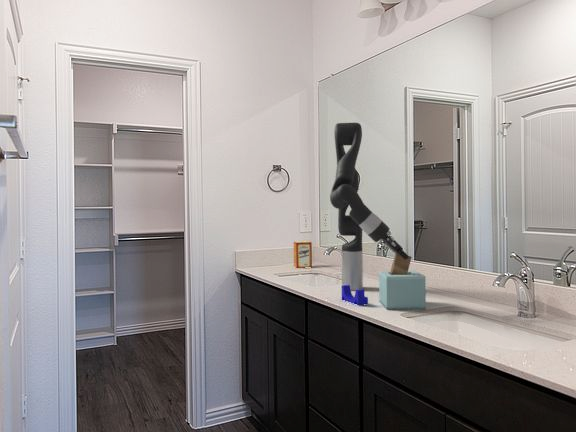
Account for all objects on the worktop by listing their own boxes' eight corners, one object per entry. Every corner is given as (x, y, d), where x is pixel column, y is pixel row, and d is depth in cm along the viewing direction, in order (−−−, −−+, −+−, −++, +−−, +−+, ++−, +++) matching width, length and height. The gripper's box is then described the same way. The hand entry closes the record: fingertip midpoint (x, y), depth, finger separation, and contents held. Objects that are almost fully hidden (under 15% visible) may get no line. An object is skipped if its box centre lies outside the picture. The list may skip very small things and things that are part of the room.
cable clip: (367, 305, 171) (367, 289, 171) (357, 306, 169) (357, 290, 169) (351, 299, 182) (351, 284, 182) (341, 300, 180) (341, 285, 180)
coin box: (379, 301, 176) (379, 271, 176) (415, 301, 176) (414, 270, 176) (386, 309, 162) (386, 276, 162) (425, 309, 162) (425, 276, 162)
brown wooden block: (388, 277, 171) (395, 252, 170) (402, 281, 171) (409, 256, 170) (390, 279, 168) (397, 253, 167) (404, 282, 168) (411, 256, 167)
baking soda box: (308, 266, 278) (308, 240, 278) (311, 268, 272) (311, 241, 271) (293, 267, 276) (293, 241, 275) (296, 268, 269) (296, 242, 269)
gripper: (384, 220, 162) (419, 253, 162) (377, 219, 175) (409, 250, 176) (370, 235, 162) (404, 268, 162) (364, 232, 176) (395, 263, 176)
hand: (406, 259), depth 169 cm, fingers closed on brown wooden block, 1 cm apart
